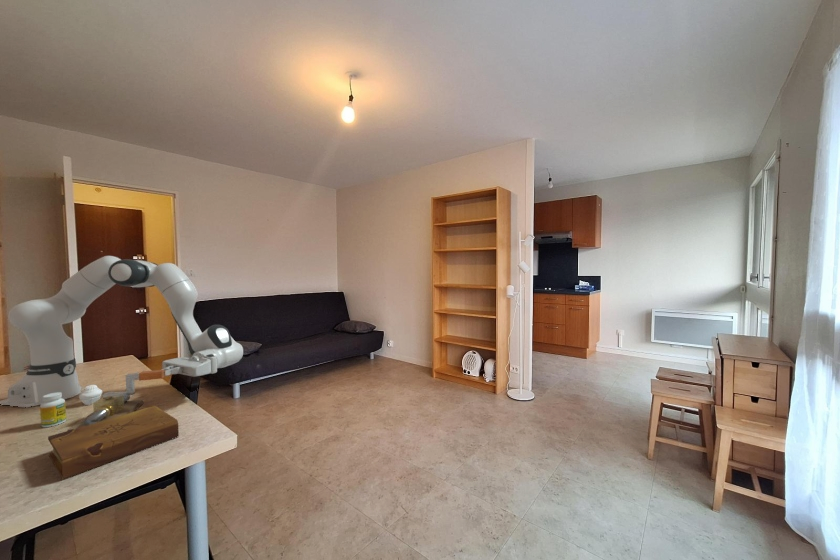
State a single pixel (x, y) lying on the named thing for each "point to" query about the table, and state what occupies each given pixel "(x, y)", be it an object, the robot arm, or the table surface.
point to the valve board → (128, 408)
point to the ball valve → (106, 408)
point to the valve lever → (130, 382)
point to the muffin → (90, 394)
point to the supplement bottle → (52, 410)
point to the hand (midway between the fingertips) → (162, 372)
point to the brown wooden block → (110, 440)
